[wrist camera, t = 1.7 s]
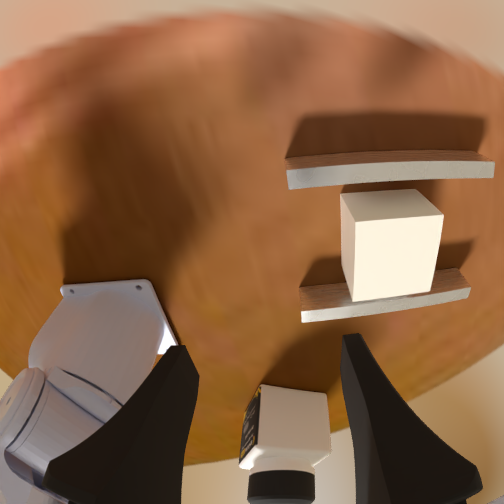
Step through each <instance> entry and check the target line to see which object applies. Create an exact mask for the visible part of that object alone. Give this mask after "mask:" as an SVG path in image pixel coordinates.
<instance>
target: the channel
mask: <svg viewBox="0 0 504 504" xmlns="http://www.w3.org/2000/svg"><path fill="white" fill-rule="evenodd" d="M285 164H286V172H287V179H288V187H289V190H290V189H299V188H309V187H319V186H330V185H342V184H354V183H367V182H382V181H399V180H420V179H448V178H493V177H494V166H495V162H494V161H492V160H490V159H488V158H486V157H485V156H483V155H481V154H479V153H477V152H475V151H467V150H391V151H368V152H350V153H336V154H324V155H312V156H302V157H293V158H285ZM470 289H471V286H470V285H469V283H468V282H467V281H466V279H465V278H464V276H463V275H462V274H461V272H460V271H459V270H458V268H457V267H456V268H449V269H443V270H436V271H434V275H433V280H432V284H431V288H430V291H428V292H422V293H415V294H409V295H402V296H395V297H387V298H380V299H372V300H364V301H356V302H352V298H351V295H350V291H349V288H348V285H347V282H344V283H335V284H325V285H316V286H306V287H299V292H300V304H301V316H302V323H303V322H314V321H323V320H332V319H341V318H349V317H357V316H365V315H372V314H379V313H386V312H393V311H399V310H405V309H411V308H417V307H423V306H429V305H434V304H440V303H445V302H450V301H455V300H460V299H465V298H468V296H469V292H470Z"/></svg>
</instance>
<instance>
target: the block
mask: <svg viewBox="0 0 504 504" xmlns="http://www.w3.org/2000/svg"><path fill="white" fill-rule="evenodd" d="M340 203H341V265H342V268H343V271H344V275H345V278H346V281H347V285H348V288H349V291H350V295H351V298H352V302H356V301H364V300H372V299H380V298H387V297H395V296H402V295H409V294H415V293H422V292H428V291H430V288H431V284H432V280H433V275H434V270H435V265H436V260H437V255H438V249H439V244H440V238H441V231H442V224H443V217H444V215H443V214H442V213H441V212H440V211H439V210H438V209H437V208H436V207H435V206H434V205H433V204H432V203H431V202H430V201H428V200H427V199H426V198H425V197H424V196H423V195H422V194H421V193H420V192H418V191H417V190H416V189H403V190H385V191H370V192H356V193H343V194H340Z"/></svg>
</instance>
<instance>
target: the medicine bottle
mask: <svg viewBox="0 0 504 504" xmlns="http://www.w3.org/2000/svg"><path fill="white" fill-rule="evenodd" d="M330 454H331V438H330V426H329V414H328V403H327V395H326V394H325V393H319V392H311V391H303V390H296V389H289V388H283V387H276V386H270V385H264V384H261V385H260V386H259V387H258V389H257V391H256V393H255V395H254V397H253V399H252V401H251V402H250V404H249V406H248V408H247V410H246V412H245V414H244V419H243V429H242V439H241V448H240V458H239V467H240V468H243V469H250V473H249V486H248V496H247V500H248V502H249V503H250V504H311V503H312V502H313V501H314V500H315V475H314V474H315V472H314V468H313V466H314V465H316V464H317V463H319V462H320V461H321V460H323V459H324V458H326V457H327V456H328V455H330Z"/></svg>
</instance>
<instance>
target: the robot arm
mask: <svg viewBox="0 0 504 504" xmlns="http://www.w3.org/2000/svg"><path fill="white" fill-rule="evenodd" d="M138 285H139V286H141V287H139V286H138ZM60 291H61V293H62V295H63V297H64V298H63V299H62V301H61V302H60V303H59V305H58V306H57V307H56V309H55V310H54V311H53V313H52V314H51V315H50V317H49V318H48V320H47V321H46V322H45V324H44V325H43V327H42V328H41V330H40V331H39V333H38V334H37V335H36V337H35V338H34V340H33V342H32V344H31V347H30V352H29V368H26V369H24V370H22V371H21V372H20V373H19V374H18V375H17V376H16V378H15V379H14V380H13V381H12V383H11V384H10V386H9V387H8V389H7V390H6V392H5V393H4V395H3V397H2V398H1V400H0V504H181V488H182V473H183V463H184V454H185V448H186V443H187V439H188V434H189V430H190V426H191V422H192V418H193V414H194V410H195V405H196V401H197V395H198V386H199V374H198V372H197V370H196V368H195V366H194V363H193V361H192V359H191V357H190V355H189V353H188V351H187V349H186V346H185V345H178V342H177V340H176V338H175V336H174V334H173V332H172V330H171V327H170V325H169V323H168V321H167V319H166V316H165V314H164V312H163V310H162V307H161V305H160V303H159V300H158V298H157V296H156V293H155V291H154V288H153V286H152V284H151V282H150V281H148V280H146V279H140V280H127V281H113V282H99V283H85V284H70V285H62V287H61V288H60ZM157 354H164V355H163V356H162V358H161V359H160V360H159V362H158V363H157V364H156V366H155V367H154V368H153V370H152V367H153V365H154V362H155V359H156V356H157ZM151 370H152V371H151ZM340 371H341V380H342V389H343V395H344V400H345V405H346V410H347V415H348V419H349V424H350V429H351V435H352V440H353V447H354V458H355V477H356V504H467V503H466V499H467V498H469V497H471V496H473V495H475V494H476V493H478V492H480V491H481V490H482V488H483V486H482V481H481V478H480V475H479V472H478V469H477V467H476V466H475V465H474V464H473V463H471V462H470V461H468V460H467V459H465V458H464V457H463V456H461V455H460V454H458V453H457V452H456V451H455V450H453V449H452V448H451V447H450V446H448V445H447V444H446V443H445V442H444V441H443V440H442V439H440V438H439V437H438V436H437V435H436V434H435V433H434V432H433V431H432V430H431V429H430V428H429V427H427V426H426V424H424V422H423V421H421V419H420V418H419V417H418V416H417V415H416V414H415V413H414V412H413V411H412V409H411V408H410V407H409V406H408V405H407V403H406V402H405V401H404V400H403V399H402V397H401V396H400V395H399V393H398V392H397V391H396V389H395V388H394V387H393V385H392V384H391V383H390V381H389V380H388V378H387V377H386V375H385V374H384V372H383V371H382V369H381V368H380V366H379V365H378V363H377V362H376V360H375V358H374V357H373V355H372V354H371V352H370V350H369V348H368V347H367V345H366V343H365V341H364V339H363V337H362V335H361V334H359V333H356V334H348V335H343V339H342V353H341V365H340ZM487 504H504V495H503V496H501V497H499V498H497V499H495V500H493V501H491V502H489V503H487Z"/></svg>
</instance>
